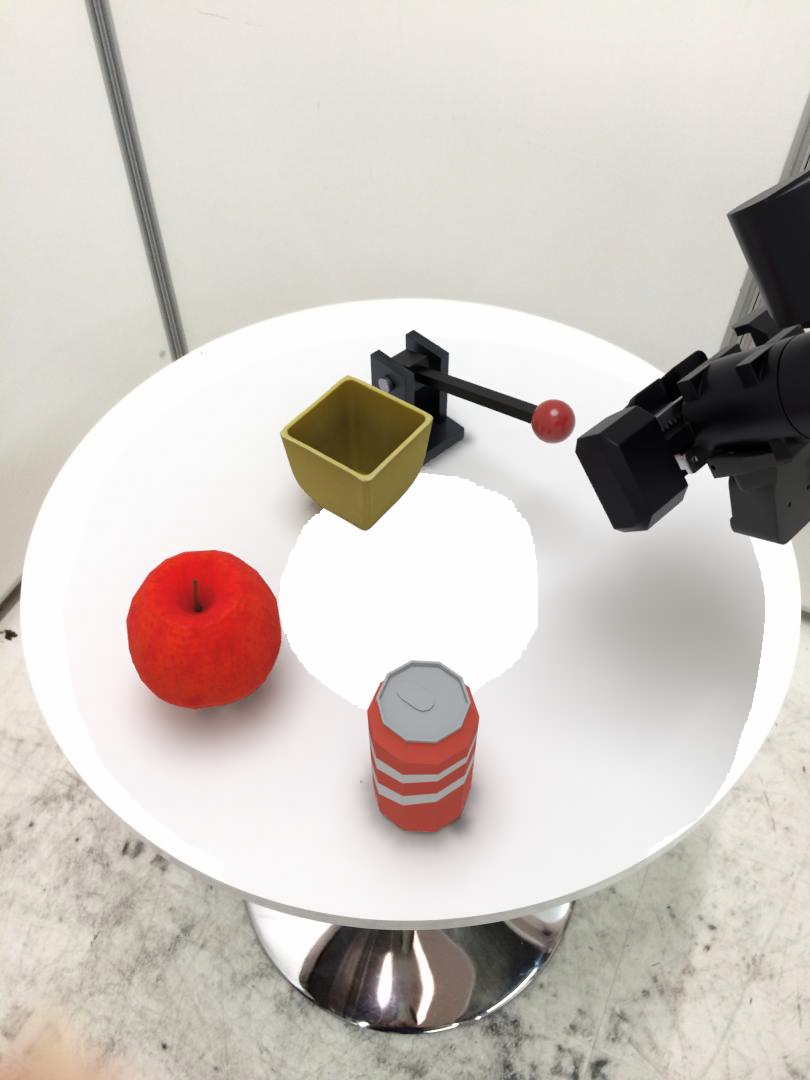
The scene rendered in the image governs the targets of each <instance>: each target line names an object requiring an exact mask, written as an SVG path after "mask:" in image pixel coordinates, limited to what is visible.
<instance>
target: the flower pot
mask: <svg viewBox="0 0 810 1080" xmlns="http://www.w3.org/2000/svg"><path fill="white" fill-rule="evenodd" d="M432 422H433V417H432V416H431V415H430V414H428V413H427V412H425V411H423V410H421V409H419V408H417V407H415V406H413V405H411V404H409V403H407V402H405V401H403V400H401V399H399V398H397V397H395V396H392V395H390V394H388V393H386V392H384V391H382V390H380V389H378V388H376V387H374V386H372V384H369V383H368V382H366V381H364V380H362V379H360V378H357V377H355V376H352V375H347V374H346V375H345V376H343V377H342V378H341V379H339V380H338V381H337V382H336V383H335V384H333V385H332V386H331V387H330V388H329V389H327V391H326V392H324V393H323V394H321V396H320V397H318V398H317V399H316V400H315V401H314V402H312V403H311V404H310V405H309V406H308V407H306V408H305V409H304V410H303V411H302V412H300V413H299V414H298V415H296V416H295V417H294V418H293V419H292V420H291V421H289V423H287V424H286V425H285V426H284V427H283V428H282V429H281V430H280V432H279V436H280V439H281V442H282V444H283V445H282V446H283V447H284V451H285V454H286V457H287V460H288V463H289V466H290V470H291V473H292V475H293V477H294V479H295V481H296V483H297V484H298V486H299V487H300V488H301V490H302V491H303V492H304V493H305V494H306V495H307V496H308V497H309V498H310V499H311V500H312V501H314V502H315V503H316V504H317V505H318V506H320V507H321V508H323V509H324V510H326V511H328V512H330V513H331V514H333V515H335V516H337V517H338V518H340V519H342V520H344V521H345V522H347V523H349V524H351V525H352V526H354V527H356V528H357V529H359V530H361V531H363V532H365V531H366V532H367V531H369V530H370V529H372V528H373V527H374V525H376V524H377V523H378V522H379V521H380V520H381V518H383V517H384V516H385V515H386V514H387V512H389V510H390V509H392V508H393V506H395V504H397V503H398V502H399V501H400V500H401V498H402V497H403V496H404V495H405V494H406V492H408V490H410V488H411V487H412V485H413V484H414V482H415V481H416V479H417V478H418V476H419V474H420V472H421V470H422V468H423V465H424V464H423V462H424V459H425V455H426V450H427V446H428V441H429V436H430V431H431V426H432Z"/></svg>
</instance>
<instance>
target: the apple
mask: <svg viewBox="0 0 810 1080" xmlns="http://www.w3.org/2000/svg"><path fill="white" fill-rule="evenodd" d="M280 619H281V617H280V611H279V605H278V600H277V597H276V595H275V594H274V592H273V591H272V589H271V587H270V585H269V584H268V583H267V582H266V580H265V579H264V577H262V575H261V574H260V572H259V571H258V570H256V569H255V568H254V567H252V566H251V565H249V564H248V563H247V562H246V561H244V560H242V558H240V557H239V556H236V555H235V554H233V553H231V552H227V551H223V550H218V549H208V550H206V549H205V550H189V551H182V552H180V553H177V554H175V555H172V556H170V557H167V558H165V559H163V561H162V562H160V563H159V564H158V565H156V567H154V568H153V569H152V570H151V571H149V572H148V574H147V575H146V577H145V578H144V579H143V581H142V582H141V584H140V586H139V588H137V590H136V592H135V593H134V595H133V596H132V598H131V601H130V605H129V608H128V611H127V615H126V619H125V624H126V625H125V626H126V634H127V644H128V651H129V655H130V658H131V661H132V664H133V666H134V669H135V671H136V673H137V675H138V677H139V679H140V681H141V683H143V684H144V685H145V686H146V687H147V688H148V689H149V690H150V692H151V693H152V694H154V695H155V696H156V697H157V698H158V699H160V700H161V701H164V702H166V703H168V704H170V705H173V706H176V707H179V708H183V709H188V710H189V709H190V710H195V711H197V710H202V709H208V708H209V709H210V708H214V707H221V706H227V705H229V704H232V703H236V702H238V701H240V700H243V699H244V698H246V697H248V696H250V695H252V694H253V693H254V692H256V691H257V690H258V689H259V688H260V687H261V686H262V685H263V684H264V683H265V682H266V681H267V679H268V677H269V676H270V674H271V672H272V670H273V667H274V666H275V664H276V662H277V659H278V656H279V654H280V649H281V646H282V625H281V620H280Z"/></svg>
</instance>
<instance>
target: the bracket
mask: <svg viewBox="0 0 810 1080" xmlns="http://www.w3.org/2000/svg"><path fill="white" fill-rule="evenodd" d="M405 349H408V350H411V351H414V352H417V353H420V354H423V355H426V356H427V357H428V362H429V367H430V369H433V370H436V371H439V372H442V373H445V374H448V375H449V369H450V368H449V367H450V352H448V350H446V349H444V348H442V347H441V346H439V344H437V343H435V342H433V341H432V340H431V339H429V338H427V337H426V336H425V335H423V334H421V333H420V332H418V331H416V330H415V329H412V330H410V331H409V332H407V333H405ZM369 356H370V359H369V360H370V380H371V385H372V386H374V387H376V388H378V389H380V390H382V391H384V392H386V393H388V394H390V395H392V396H395V397H397V398H399V399H401V400H403V401H405V402H407V403H409V404H411V405H413V406H415V407H417V408H419V409H421V410H423V411H425V412H427V413H428V414H430V415H431V416H432V417H433V422H432V426H431V431H430V436H429V441H428V446H427V450H426V455H425V459H424V462H423V465H425V464H427V463H428V462H429V461H431V460H433V459H434V458H436V457H438V456H439V455H440V454H441V453H442V452H444V451H446V450H447V449H449V448H450V447H452V446H453V445H455V444H456V443H458V442H459V441H461V440H462V439H464V437H465V427H464V426H463V425H461V424H460V423H458V422H457V421H456V420H454V419H453V418H451V417H450V416H448V395H449V394H448V393H445V392H443V391H440V390H437V389H434V388H432V387H429V386H426V385H425V386H423V387H422V388H420V389H418V390H417V391H415V392H414V373H412V372H411V371H410V370H408V369H407V368H405V367H404V366H402V365H401V364H399V363H398V362H396V361H395V360H394V359H392V358H391V356H389V355H388V354H386V353H385V352H384V351H383V350H381V349H377V350H375V351H373V352H372V353H370V355H369Z"/></svg>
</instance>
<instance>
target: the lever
mask: <svg viewBox="0 0 810 1080" xmlns="http://www.w3.org/2000/svg"><path fill="white" fill-rule="evenodd" d="M390 357H391V356H390ZM391 358H392V359H394V360H395V361H396V362H398V363H399V364H401V365H402V366H404V367H405V368H407V369H408V370H410V371H411V372H412V373H414V392H415V391H417V390H418V389H420V388H422V387H423V386H425V385H426V386H429V387H432V388H434V389H437V390H440V391H443V392H445V393H448V394H447V395H451V396H454V397H456V398H459V399H462V400H465V401H466V402H467V401H468V402H470V403H473V404H475V405H478V406H480V407H484V408H487V409H489V410H491V411H494V412H497V413H500V414H503V415H506V416H508V417H511V418H513V419H516V420H519V421H522V422H525V423H528V424H530V425H531V430H532V432H533V434H534V435H535V436H536V437H537V438H538V439H539V440H540V441H542V442H544V443H546V444H560V443H563V442H564V441H566V440H567V439H568V438H570V437H571V436H572V434H573V433H574V430H575V427H576V421H577V419H576V414H575V411H574V410H573V408H572V407H571V406H570V405H569V403H567V402H566V401H564V400H560V399H557V398H556V399H554V398H552V399H546V400H545V401H542V402H540V403H539V404H538V405H537V404H534V403H532V402H528V401H526V400H523V399H520V398H517V397H514V396H511V395H508V394H506V393H502V392H499V391H497V390H493V389H491V388H488V387H485V386H483V385H480V384H476V383H473V382H471V381H467V380H465V379H462V378H459V377H457V376H454V375H451V374H449V373H448V374H445V373H442V372H439V371H436V370H433V369H430V367H429V362H428V357H427V356H426V355H423V354H420V353H417V352H414V351H411V350H408V349H406V348H405V349H403V350H401V351H400V352H398V353H396V354H394V355H393V356H392V357H391Z"/></svg>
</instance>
